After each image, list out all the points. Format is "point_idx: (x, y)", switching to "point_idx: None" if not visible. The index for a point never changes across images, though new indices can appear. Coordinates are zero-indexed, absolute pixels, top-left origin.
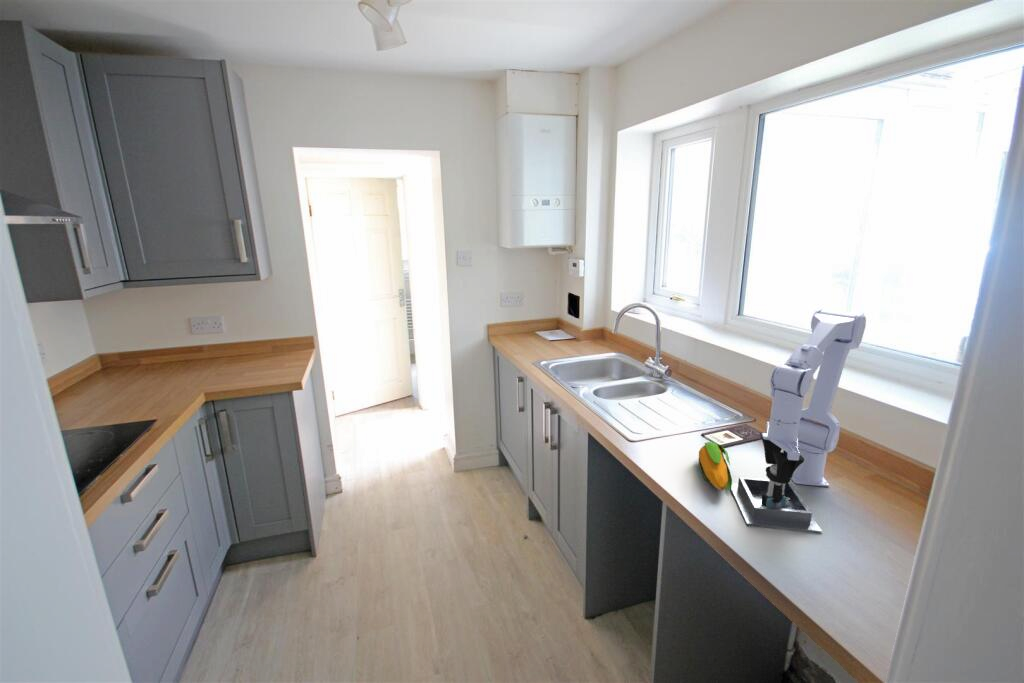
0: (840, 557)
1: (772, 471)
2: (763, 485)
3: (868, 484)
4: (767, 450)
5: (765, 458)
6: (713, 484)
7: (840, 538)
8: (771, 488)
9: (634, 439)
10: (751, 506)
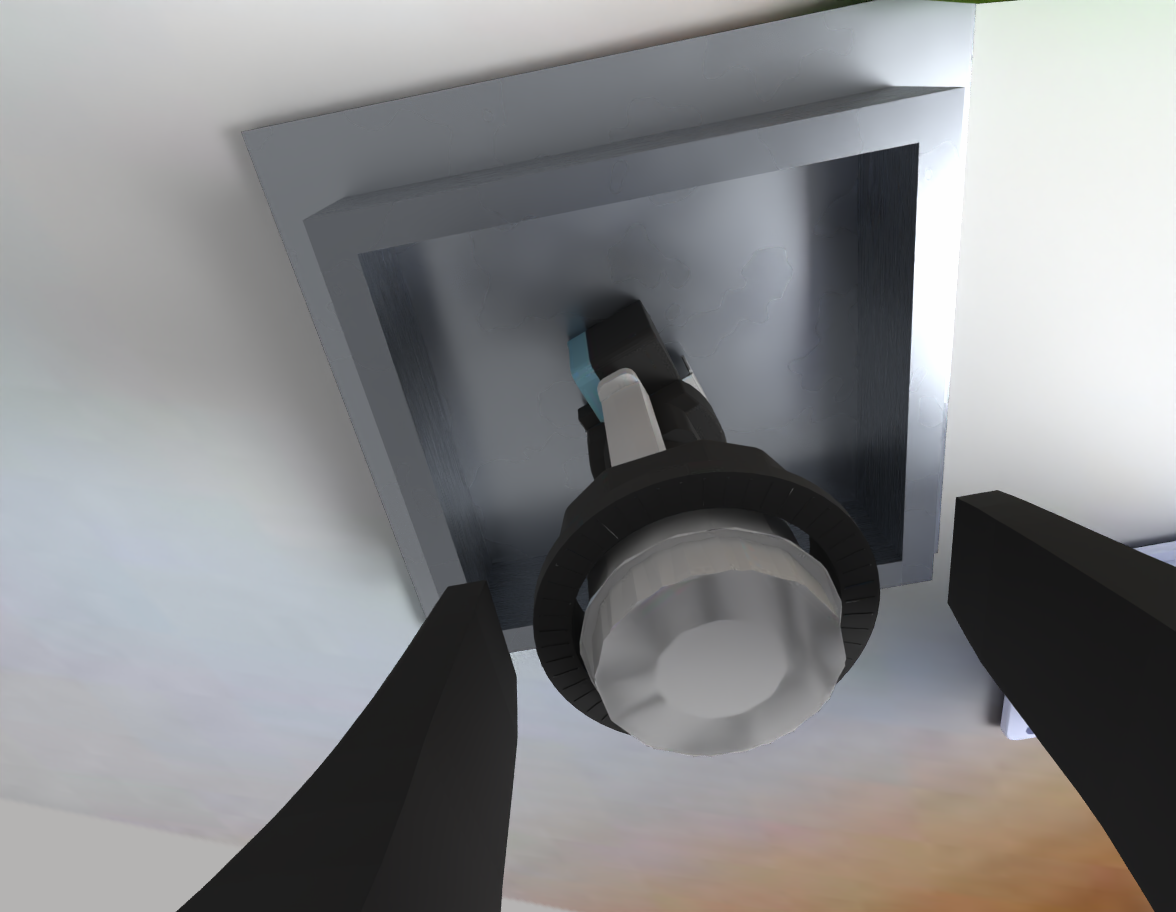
0: (235, 674)
1: (653, 561)
2: (884, 351)
3: (1042, 872)
4: (1150, 650)
5: (1040, 516)
6: None
7: None
8: (610, 441)
9: None
10: (411, 192)
